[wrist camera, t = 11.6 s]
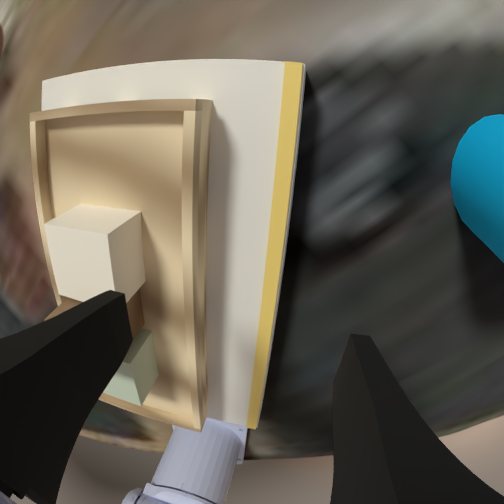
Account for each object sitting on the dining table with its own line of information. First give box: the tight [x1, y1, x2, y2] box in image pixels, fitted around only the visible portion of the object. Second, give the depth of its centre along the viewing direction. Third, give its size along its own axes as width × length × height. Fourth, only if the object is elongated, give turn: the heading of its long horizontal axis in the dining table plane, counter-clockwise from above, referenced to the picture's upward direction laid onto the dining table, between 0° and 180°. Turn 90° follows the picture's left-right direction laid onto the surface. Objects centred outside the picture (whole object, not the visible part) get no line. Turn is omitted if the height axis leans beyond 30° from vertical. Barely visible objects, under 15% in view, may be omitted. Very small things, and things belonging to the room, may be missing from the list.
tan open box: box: [30, 99, 212, 433], centre depth 16 cm, size 22×10×7 cm, turn 176°
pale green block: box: [103, 329, 159, 406], centre depth 18 cm, size 4×4×3 cm
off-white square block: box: [44, 204, 146, 303], centre depth 15 cm, size 4×4×3 cm
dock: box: [42, 59, 306, 429], centre depth 20 cm, size 26×16×3 cm, turn 176°
